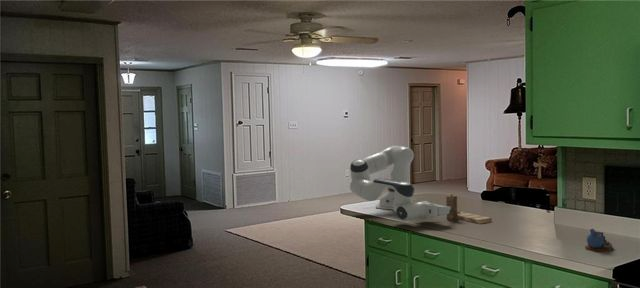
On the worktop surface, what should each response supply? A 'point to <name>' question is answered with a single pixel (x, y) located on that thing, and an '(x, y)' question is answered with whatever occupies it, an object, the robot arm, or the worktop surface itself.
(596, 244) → the model
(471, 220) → the board
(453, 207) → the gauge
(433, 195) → the worktop surface
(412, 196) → the robot arm
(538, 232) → the worktop surface
